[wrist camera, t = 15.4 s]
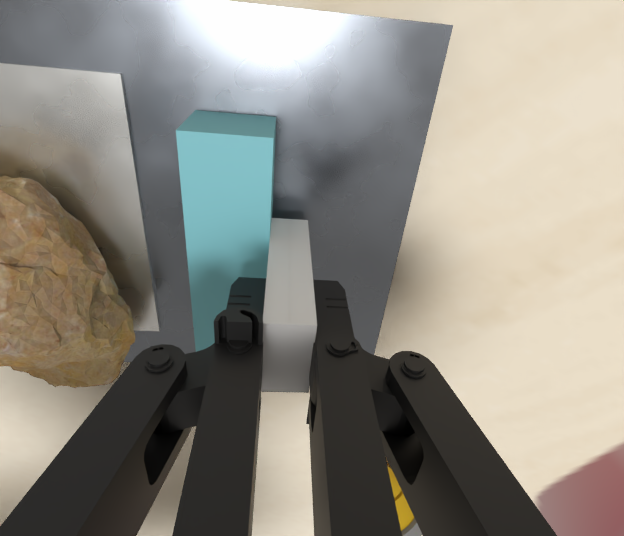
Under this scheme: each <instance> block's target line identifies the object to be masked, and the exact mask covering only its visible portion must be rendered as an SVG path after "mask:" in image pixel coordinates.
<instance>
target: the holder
mask: <svg viewBox="0 0 624 536" xmlns="http://www.w3.org/2000/svg"><path fill="white" fill-rule="evenodd" d="M452 28H453V25H446V24H436V23H427V22H418V21H409V20H400V19H390V18H381V17H372V16H363V15H354V14H344V13H335V12H326V11H317V10H308V9H298V8H289V7H280V6H271V5H262V4H252V3H243V2H234V1H225V0H0V177H2V176H5V175H6V176H8V177H11V178H28V179H32V180H34V181H36V182H39V183H40V184H41V185H42V186H43V187H44V188H45V189H46V190H47V191H48V192H49V193H50V194H52V195H53V196H54V197H56V198H57V200H58V201H59V203H60V205H61V206H62V207H63V208H64V210H66V211H67V212H68V213H70V214H71V215H72V216H73V217H75V218H76V219H78V220H79V221H81V222H82V223H83V224H84V226H85V227H86V229H87V231H88V232H89V233H90V235H91V236H92V238H93V240H94V242H95V244H96V246H97V248H98V249H99V251H100V253H101V254H102V256H103V258H104V260H105V262H106V265H107V268H108V269H109V271H110V273H111V274H112V275H113V278H114V281H115V283H116V285H117V287H118V295H120V296H121V297H122V298H123V300H124V301H125V303H126V304H127V305H128V306H129V307H130V310H131V313H132V318H133V327H134V333H135V342H134V343H133V344H132V345H130V350H129V352H128V353H127V355H126V357H125V359H124V362H132V361H133V360H134V358H135V357H136V356H137V355H138V354H139V353H141V352H142V351H143V350H145V349H147V348H149V347H151V346H155V345H160V344H168V345H174V346H176V347H179V348H180V349H181V350H182V351H183V352H184V353H185V354H187V353H192V352H196V349H195V338H194V327H193V316H192V305H191V294H190V283H189V272H188V260H187V249H186V238H185V227H184V216H183V205H182V194H181V183H180V172H179V161H178V150H177V139H176V130H177V128H178V127H179V126H180V125H181V124H182V123H183V122H184V121H185V120H186V119H187V118H188V117H189V116H190V115H191V114H192V113H193V112H194V111H195V110H200V111H212V112H224V113H236V114H248V115H259V116H271V117H276V136H275V160H274V185H273V209H272V218H282V219H298V220H308V228H309V239H310V250H311V262H312V273H313V280H330V281H338V282H339V283H340V284H341V286H342V287H343V288H344V289H345V293H346V298H347V303H348V309H349V313H350V318H351V323H352V328H353V333H354V337H355V339H356V340H357V341H358V342H359V343H360V345H361V347H362V349H364V350H365V351H367V352H368V353H370V354H373V355H374V352H375V348H376V344H377V340H378V336H379V332H380V327H381V323H382V319H383V315H384V311H385V307H386V302H387V298H388V294H389V290H390V286H391V282H392V277H393V273H394V269H395V265H396V261H397V257H398V252H399V248H400V244H401V240H402V236H403V232H404V227H405V223H406V219H407V215H408V211H409V207H410V202H411V198H412V194H413V190H414V186H415V182H416V178H417V173H418V169H419V165H420V161H421V157H422V153H423V148H424V144H425V140H426V136H427V132H428V128H429V123H430V119H431V115H432V111H433V107H434V103H435V98H436V94H437V90H438V86H439V82H440V78H441V73H442V69H443V65H444V61H445V57H446V53H447V48H448V44H449V40H450V36H451V32H452Z"/></svg>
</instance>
